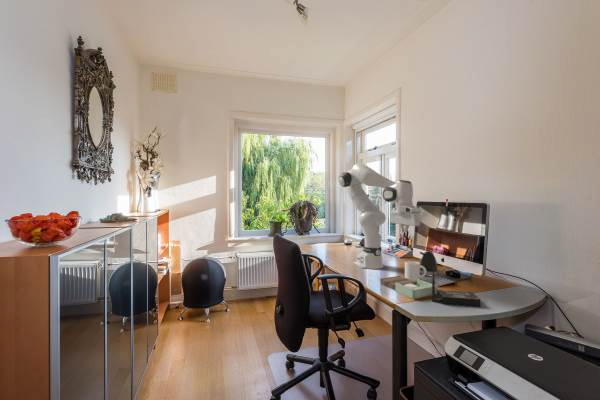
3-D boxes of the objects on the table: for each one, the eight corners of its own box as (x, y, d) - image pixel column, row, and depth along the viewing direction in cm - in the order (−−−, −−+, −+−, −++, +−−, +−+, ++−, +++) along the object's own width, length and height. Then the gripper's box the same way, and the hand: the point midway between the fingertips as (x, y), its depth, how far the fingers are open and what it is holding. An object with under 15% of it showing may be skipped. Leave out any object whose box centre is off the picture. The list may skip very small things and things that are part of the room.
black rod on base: (470, 298, 143) (471, 264, 143) (482, 309, 130) (482, 271, 129) (427, 295, 147) (427, 262, 147) (434, 305, 134) (434, 269, 133)
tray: (395, 291, 152) (395, 282, 152) (417, 287, 158) (418, 279, 158) (413, 299, 140) (413, 290, 140) (437, 294, 147) (437, 285, 147)
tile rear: (403, 289, 154) (403, 284, 153) (410, 287, 156) (410, 283, 156) (410, 292, 149) (411, 287, 149) (418, 290, 151) (418, 286, 151)
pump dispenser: (418, 272, 188) (419, 249, 187) (436, 273, 184) (436, 250, 184) (419, 276, 178) (420, 252, 178) (438, 278, 175) (438, 253, 174)
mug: (425, 278, 173) (425, 261, 173) (427, 283, 166) (427, 265, 165) (404, 277, 177) (404, 260, 177) (404, 281, 169) (405, 263, 169)
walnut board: (380, 283, 164) (380, 278, 164) (399, 280, 170) (399, 275, 170) (396, 291, 152) (396, 285, 152) (416, 287, 158) (416, 282, 158)
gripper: (387, 207, 173) (387, 230, 174) (413, 209, 155) (413, 235, 155) (395, 207, 176) (395, 229, 176) (422, 209, 157) (422, 234, 158)
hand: (404, 232), depth 166 cm, fingers closed
